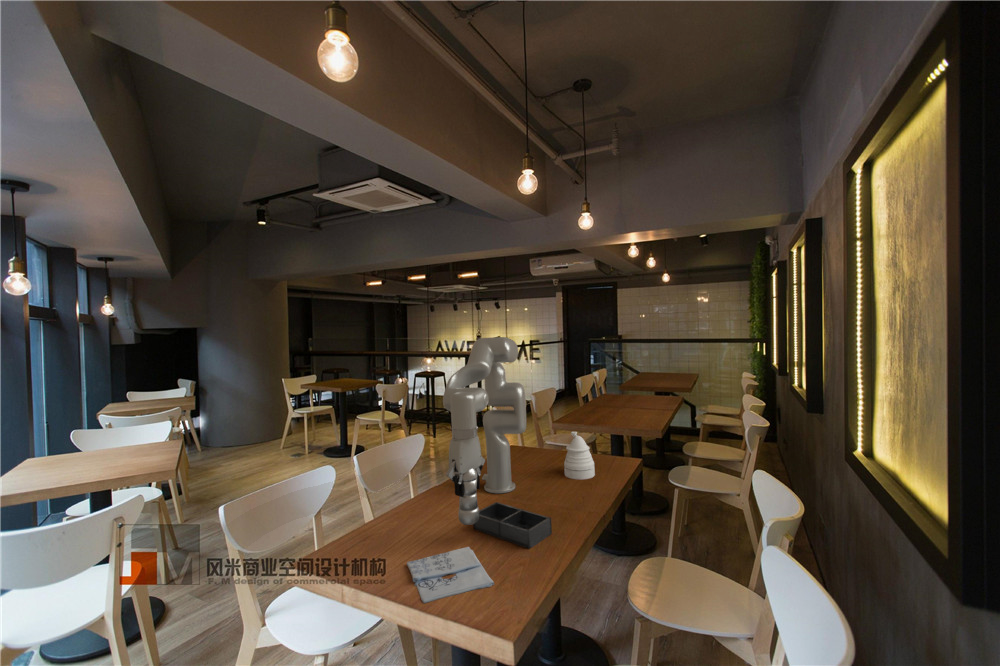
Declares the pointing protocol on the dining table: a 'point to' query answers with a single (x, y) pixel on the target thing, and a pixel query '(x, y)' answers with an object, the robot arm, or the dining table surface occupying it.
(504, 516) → the divided tray
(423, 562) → the folded bicycle print cloth
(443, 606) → the dining table surface
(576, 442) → the honey pot
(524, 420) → the robot arm
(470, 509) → the grey stacked bottle
